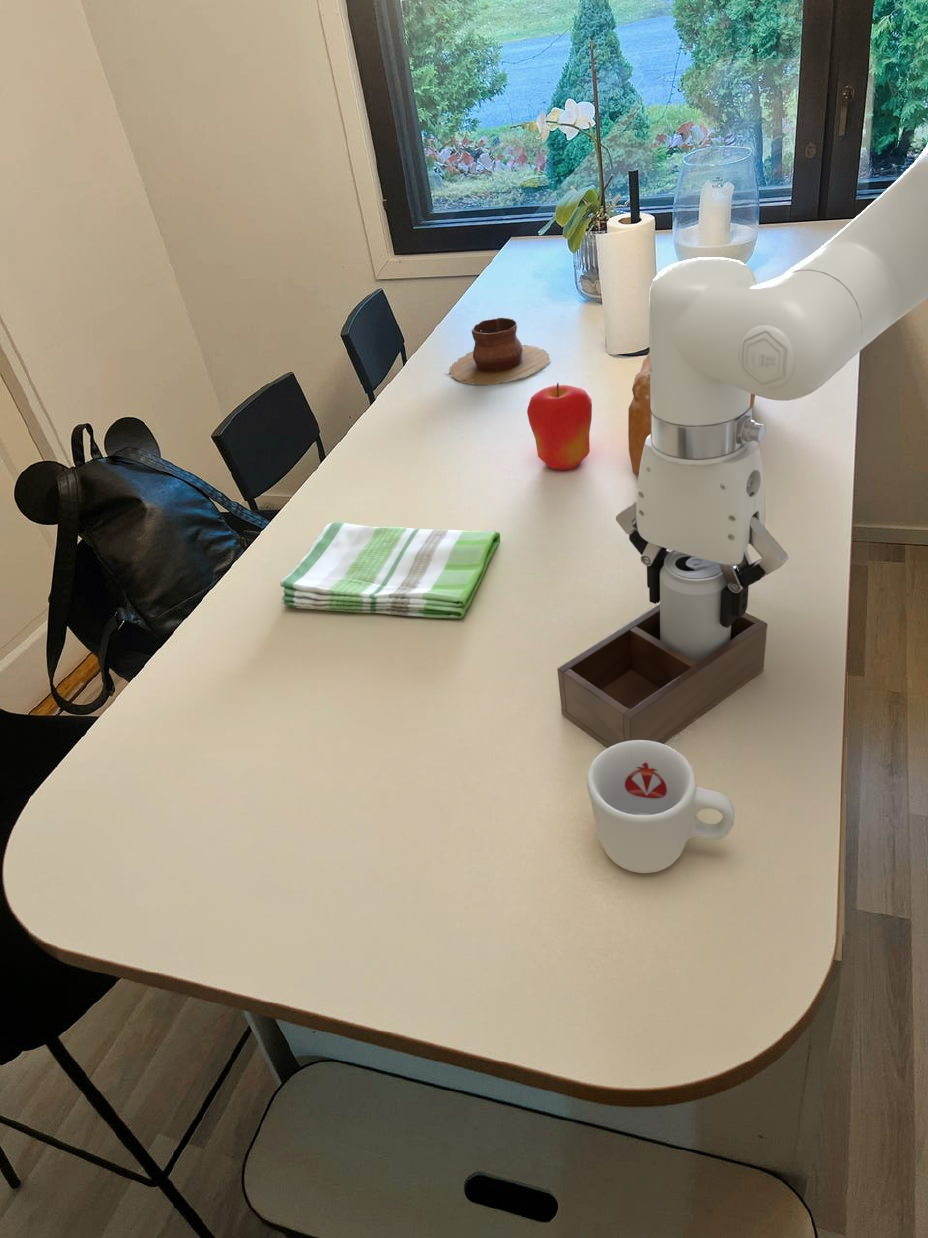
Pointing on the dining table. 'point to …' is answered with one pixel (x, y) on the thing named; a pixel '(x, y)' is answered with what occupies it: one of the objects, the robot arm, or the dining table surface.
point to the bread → (643, 415)
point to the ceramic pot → (498, 355)
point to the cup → (650, 805)
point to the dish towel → (390, 570)
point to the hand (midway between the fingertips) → (695, 605)
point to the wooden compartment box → (654, 680)
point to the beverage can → (691, 605)
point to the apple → (561, 425)
